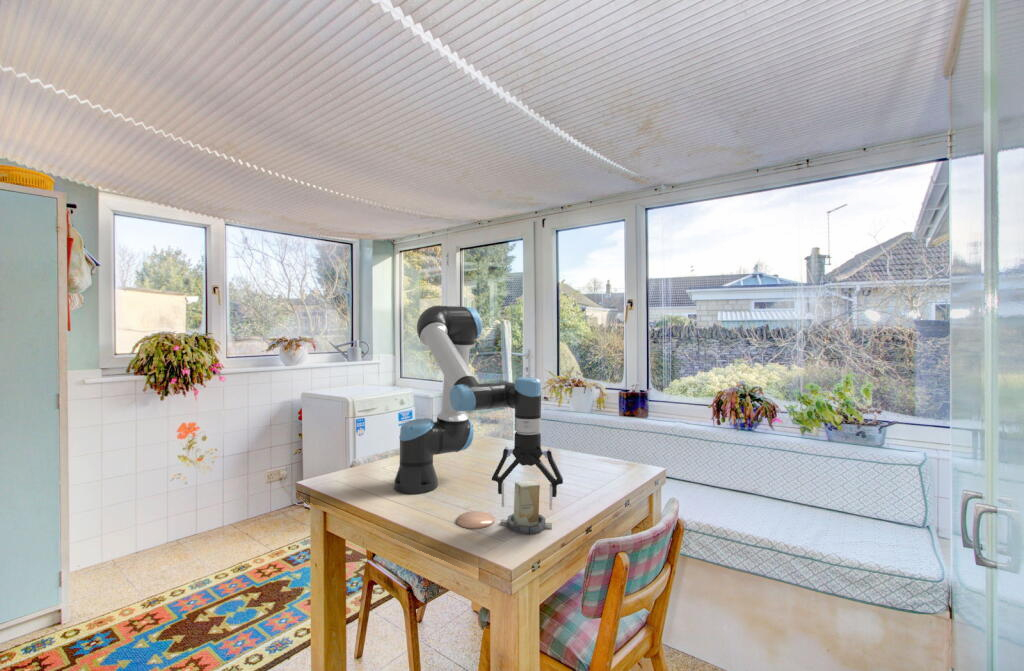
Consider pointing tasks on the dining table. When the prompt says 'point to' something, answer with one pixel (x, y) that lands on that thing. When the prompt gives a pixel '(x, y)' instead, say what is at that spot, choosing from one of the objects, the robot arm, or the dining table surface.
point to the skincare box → (526, 503)
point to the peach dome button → (475, 520)
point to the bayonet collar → (526, 529)
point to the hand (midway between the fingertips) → (527, 506)
